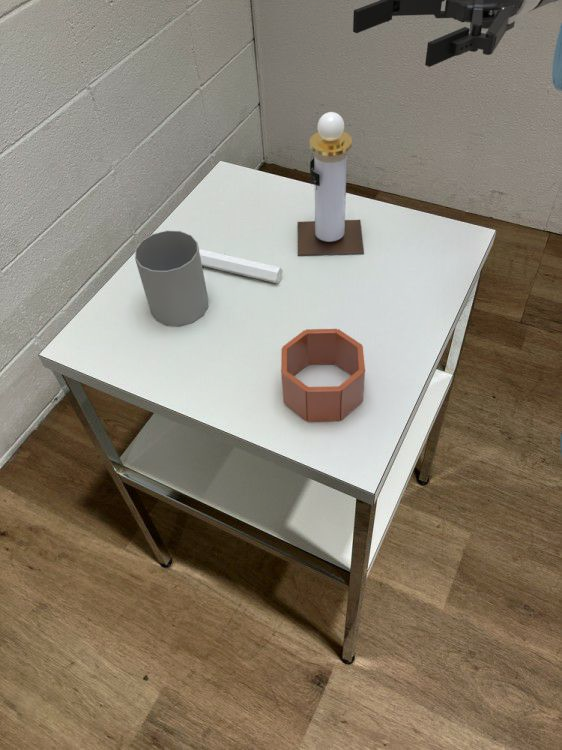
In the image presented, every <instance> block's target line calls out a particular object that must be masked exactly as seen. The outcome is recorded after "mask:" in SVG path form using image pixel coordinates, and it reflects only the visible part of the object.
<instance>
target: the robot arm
mask: <svg viewBox="0 0 562 750" xmlns="http://www.w3.org/2000/svg"><path fill="white" fill-rule="evenodd" d="M558 1H559V0H378V1H375V2H372V3H369V4H366V5H364V6H361V7H359V8H356V9H353V15H352V16H353V17H352V18H353V19H352V20H353V21H352V32H353V33H355V34H359V33H361V32H364V31H366V30H369V29H371V28H374V27H377V26H379V25H382V24H385V23H386V22H387V23H389V22H390V21H392V20H393V17H401V16H403V17H405V16H434V18H435V19H453V20H455V21H457V22H460V23H469V27H467V26H463V27H460V28H459V29H457V30H454V31H453V32H452V31H451V32H449V33H447V34H444V35H442V36H440V37H438V38H435V39H433V40H431V41H428V42H427V45H426V55H425V63H424V65H425V66H426V67H429V68H430V67H433V66H435V65H437V64H440V63H443V62H444V61H447V60H449V59H451V58H453V57H458V56H460V55H461V56H462V55H463V54H466V53H468V52H472V53H473V52H474V53H475V52H478V51H479V50H482V54H483V55H486V56H491V55H492V54H493V53H494V52H495V50H496V48H497V47H498V45H499V44H500V42H501V40H502V38H504V36H505V34H506V32H507V31H510V30H511V29H513V28H514V27H515V23H516V19H517V17H520V16H522V15H524V14H526V13H529V12H531V11H534V10H537V9H539V8H541V7H544V6H546V5H549V4H552V3H556V2H558ZM443 2H445V4H444V10H442V5H443ZM483 30H486V32H485V33H484V32H482V31H483ZM551 80H552V84H553V86H554V89H556V90H557V91H560V92H562V23H561V24H560V28H559V31H558V35H557V39H556V44H555V49H554V54H553V60H552V68H551ZM560 455H561V457H562V431H561V432H560Z"/></svg>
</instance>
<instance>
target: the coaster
mask: <svg viewBox="0 0 562 750" xmlns="http://www.w3.org/2000/svg"><path fill="white" fill-rule="evenodd" d="M364 254H365V251H364V240H363V232H362V222H361V219H345V232H344V236H343V237H342V238H341V239H339V240H336V241H331V242H329V241H323V240H320V239H319V238H317V236H316V235H315V220H314V221H313V220H310V221H309V220H307V221H297V256H298V257H311V256H312V257H314V256H315V257H317V256H343V255H345V256H347V255H364Z"/></svg>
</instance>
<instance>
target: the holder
mask: <svg viewBox="0 0 562 750" xmlns="http://www.w3.org/2000/svg"><path fill="white" fill-rule="evenodd" d="M280 359H281V361H280V362H281V363H280V365H281V366H280V373H281V374H280V376H281V386H282V387H281V388H282V401H283V404H284V406H286V407H287V408H289V409H290V410H291V411H293V412H294V414H296V415H298V416H299V417H300V418H301V419H303V420H304V421H305V422H307V423H319V422H320V423H321V422H322V423H324V422H341V421H343V420H344V419H345V418H346V417H348V415H350V414H351V413H352V412H353V411H354V410H355V409H356V408H358V407H359V406H360V405H361V404H362V403H363V400H364V389H365V387H364V386H365V378H366V377H365V376H366V365H365V354H364V346H363V344H362V343H361V342H359V341H357V340H356V339H354V338H353V337H352V336H350V335H348V334H346V333H345V332H343V331H342V330H341V329H340V328H312V329H308V328H307V329H304V330H302V331H301V332H300V333H298V334H297V335H296V336H294V337H293V338H292V339H290V340H289V341H288V342H286V343H285V344H284V345H282V347H281V358H280ZM311 365H312V366H313V365H314V366H316V365H335V366H337V367H339V368H340V369H341V370H342V371H344V372H345V373H347V374H348V375H350V376H349V377H348V378H347V379H346V380H345V381H343V382H342V383H341V384H340V385H337V386H334V385H333V386H308V385H306V384H305V383H304V382H302V381H301V380H299V379H298V378H297V377H296V375H297V374H299V373H300V372H301V371H302V370H303V369H305V368H306V367H307V366H311Z"/></svg>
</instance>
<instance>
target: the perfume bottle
mask: <svg viewBox="0 0 562 750" xmlns="http://www.w3.org/2000/svg"><path fill="white" fill-rule="evenodd" d="M316 127H317V132H315V133H314V134H312V135H311V137H310V138H309V148H310V150H311V151H312V152H313V153H312V154H311V156H310V159H311V160H310V161H309V172H310V173H309V177H310V178H309V179H310V182H311V183H313V185H314V221H315V235H316V236H317V238H319V239H320V240H323V241H329V242H331V241H336V240H339V239H341V238H342V237H343V236H344V232H345V220H346V199H347V197H346V196H347V173H348V172H347V171H348V170H347V169H348V151H350V150H351V148H352V147H353V138H352V136H351V135H350V134H349V133H348V132H346V131H345V127H346V126H345V120H344V119H343V117H342V116H341V115H340V114H339V113H337V112H335V111H328V112H325V113H323V114H322V115H321V116H320V117H319V119H318V121H317V126H316Z"/></svg>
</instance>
